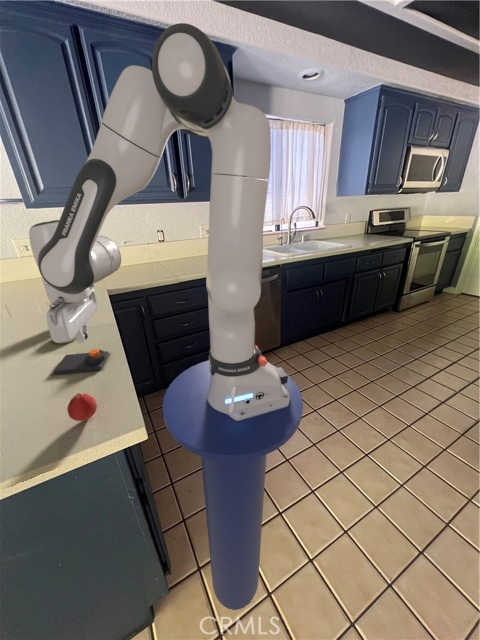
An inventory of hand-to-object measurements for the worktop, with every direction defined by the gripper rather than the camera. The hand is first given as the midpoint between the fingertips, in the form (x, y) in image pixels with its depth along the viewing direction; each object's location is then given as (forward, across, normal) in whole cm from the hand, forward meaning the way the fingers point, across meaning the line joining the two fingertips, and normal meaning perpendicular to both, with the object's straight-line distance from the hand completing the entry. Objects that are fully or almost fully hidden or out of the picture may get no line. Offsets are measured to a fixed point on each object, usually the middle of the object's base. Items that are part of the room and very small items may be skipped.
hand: (83, 340), depth 71 cm
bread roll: (+13, +28, +19) cm, 37 cm away
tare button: (+11, +10, +3) cm, 15 cm away
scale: (+13, +10, +7) cm, 18 cm away
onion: (+14, -15, -3) cm, 21 cm away
